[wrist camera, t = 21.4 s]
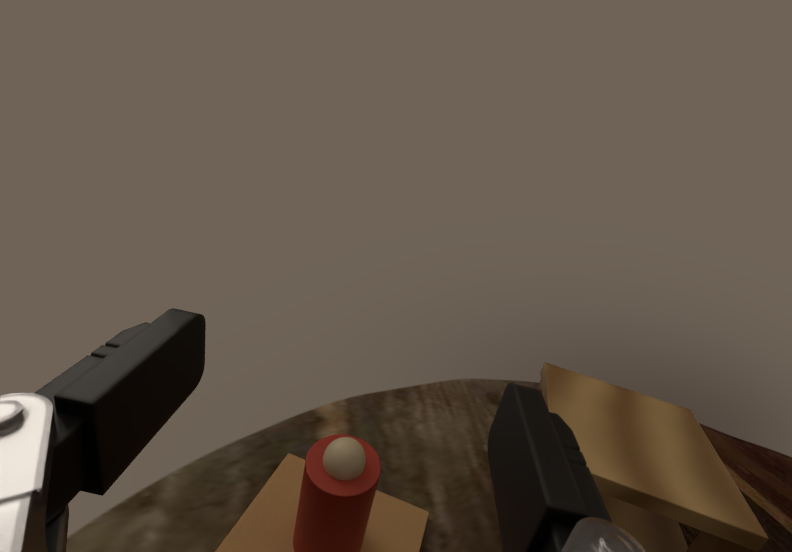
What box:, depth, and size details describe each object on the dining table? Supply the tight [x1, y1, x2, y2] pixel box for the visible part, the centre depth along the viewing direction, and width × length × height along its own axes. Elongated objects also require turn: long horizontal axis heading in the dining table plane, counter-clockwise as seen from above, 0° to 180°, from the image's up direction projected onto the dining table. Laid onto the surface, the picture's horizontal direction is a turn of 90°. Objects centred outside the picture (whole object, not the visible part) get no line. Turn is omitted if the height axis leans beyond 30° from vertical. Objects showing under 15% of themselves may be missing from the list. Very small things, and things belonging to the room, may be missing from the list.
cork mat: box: [216, 453, 429, 552], centre depth 28 cm, size 12×10×1 cm
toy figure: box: [293, 434, 381, 552], centre depth 26 cm, size 5×5×8 cm
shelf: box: [537, 363, 768, 552], centre depth 31 cm, size 12×12×10 cm
